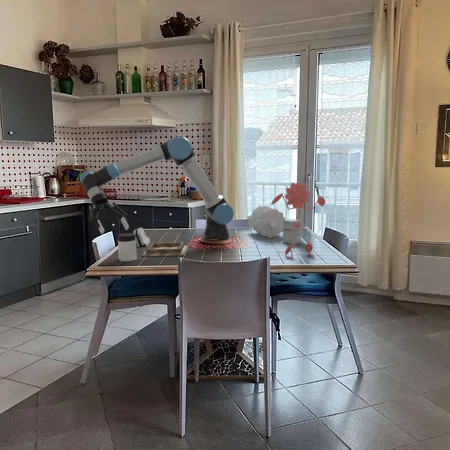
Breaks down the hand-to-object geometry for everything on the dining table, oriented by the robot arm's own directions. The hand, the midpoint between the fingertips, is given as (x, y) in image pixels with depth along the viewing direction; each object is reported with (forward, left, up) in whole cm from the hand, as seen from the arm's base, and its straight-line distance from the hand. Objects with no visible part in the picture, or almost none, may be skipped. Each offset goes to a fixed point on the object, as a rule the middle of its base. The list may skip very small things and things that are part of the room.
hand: (115, 230), depth 211 cm
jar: (-7, +6, -13) cm, 16 cm away
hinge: (-6, -32, -14) cm, 35 cm away
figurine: (-88, +1, -13) cm, 89 cm away
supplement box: (-90, -28, -13) cm, 95 cm away
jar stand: (-23, -10, -13) cm, 28 cm away
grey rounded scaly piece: (-78, -51, -13) cm, 94 cm away
